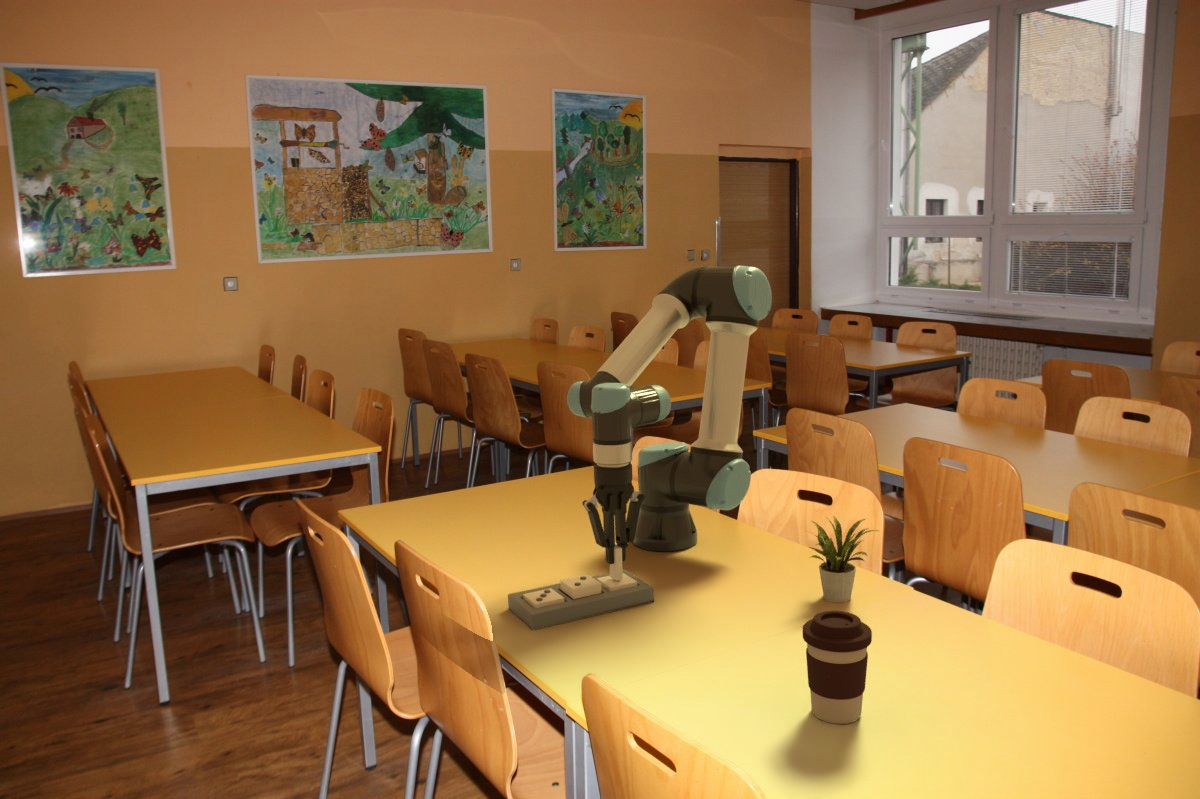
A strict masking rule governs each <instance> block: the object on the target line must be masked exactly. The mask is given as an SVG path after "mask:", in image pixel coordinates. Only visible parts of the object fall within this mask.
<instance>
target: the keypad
mask: <svg viewBox="0 0 1200 799" xmlns="http://www.w3.org/2000/svg"><path fill="white" fill-rule="evenodd" d="M623 573H624V574H626V575H627V576H629V577H631V578H632V579H634V580H635V581H637V586H634V587H629V588H625V589H620V590H616V591H611V592H609V591H607V590H606V589H604V588H603V587H601V593H600V594H595V595H591V596H586V597H582V598H577V599H573V598H571V597H570V596H569V595H567V594H566V593H565V592H563V591H562V590H561V587H560V582H559V583H556V584H550V585H547V586H545V585H544V586H540V587H537V588H532V589H526V590H522V591H517V592H512V593H508V594H507V602H508V604H507V606H508V608H507V609H508V610H509V611H510V612H511V613H512V614H514V615H515V616H516V617H517V618H518V619H519V620H521V621H522V622H523V623H524V624H525V625H526V626H527V627H528V628H530V630H531V631H535V630H539V629H543V628H548V627H552V626H556V625H561V624H565V623H569V622H573V621H577V620H582V619H586V618H590V617H595V616H599V615H604V614H607V613H608V614H609V613H612V612H616V611H620V610H621V611H622V610H625V609H629V608H634V607H637V606H641V605H646V604H651V603H654V602H655V593H654V592H655V588H654V587H655V586H654V587H653V586H652V585H651V584H649V583H648V582H646V581H644V580H642V579H641V578H639V577H637V576H636V575H635V574H633V573H631V572H629V571H627V570H626V569H623ZM605 576H610V572H607V573H603V574H597V575H592V576H591V577H592V578H594V579H595V580H597V578H600V577H605ZM550 588H552V589H553V590H554V591H556V592H557V593H558V594H560V595H561V596H562V597H564V602H562V603H557V604H553V605H548V606H544V607H539V608H535V609H534V608H533V607H531V606H530V605H529V604H528V603H526V602H525V601H524V600H523V594H526V593H531V592H535V591H540V590H545V589H550Z"/></svg>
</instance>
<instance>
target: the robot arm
mask: <svg viewBox="0 0 1200 799" xmlns="http://www.w3.org/2000/svg"><path fill="white" fill-rule="evenodd" d="M772 297H773V296H772V288H771V284H770V282H769V280H768V278H767V275H766V274H765V273H764V271H762V270H761V269H760V268H758V267H756V266H748V265H740V264H739V265H717V266H716V265H714V266H710V265H702V266H701V265H699V266H696V267H693V268H690V269H688V270H686V271H685V272H681V274H679V275H677V276H676V277H674V278H673V279H672V280H671V281H669V282H668V283H667V284H666V285H665V286H664V287H662V289H661V290H660V291H658V293H657V294H656V295H655V297H653V299H652V302H651V307H650V309H649V311H647V313H646V314H645V315H644V316H643V317H642V318H641V319H640V320H639V322H638V323H637V325H635V327H634V328H633V329H632V330H631V331H630V333H629V334H628V335H627V336H626V337H625V338H624V339H623V340H622V342H621V343H620V344H619V346H617V347H616V349H614V351H613V353H612V354H610V356H609V357H608V358H607V359H606V360H605V362H604V363H603V364H602V365H601V366H600V367H599V368H598V370H597V371H596V372H595V374H593V376H592V377H591V378H590V379H588V381H587V380H582V381H581V380H580V381H575V382H574V383H572V384H571V386H570V387H569V389H568V392H567V394H566V395H567V396H566V403H567V407H568V408H569V409H568V410H569V411H570V412H571V413H572V414H573V415H575V416H578V417H582V418H586V419H591V422H592V424H591V425H592V426H591V427H592V456H593V462H594V463H595V464H594V465H593V481H594V482H593V483H594V489H593V492H592V496H591V497H590V498H589V499H588V500H586V499H585V500H582V506H583V507H584V509H585V510H586V511H587V514H588V518H589V519H588V520H589V521H590V522H589V523H590V525H591V530H592V533H593V537H594V541H595V543H596V544H597V545H598V546H600V547H601V548H604V549H605V551H604V553H605V563H607V564H608V565H609V573H610V577H611V578H613V579H614V580H616V581H617V580H622V579H623V570H624V569H623V563H624V562H626V558H627V557H626V556H627V555H626V552H627V550H626V549H627V548H628V547H629V543H633V545H634V546H636V547H638V548H640V549H642V550H647V551H653V552H672V551H673V552H675V551H681V550H685V549H689V548H691V547H693V546H694V545H696V544H697V543H698V531H697V530H698V529H697V528H696V525H695V522H694V519H693V516H692V514H691V510H690V505H691V506H692V505H693V506H698V507H702V508H703V507H704V508H708V509H709V510H719V511H720V510H721V511H731V510H733V509H735V508H737V507H738V506H739V505H740V504H741V503H742V501H743V500H744V499H745V497H746V496H747V494H748V492H749V488H750V485H751V478H752V472H751V470H750V468H751V467H750V465H749V463H748V462H747V461H745V460H744V459H743V455H744V454H743V452H744V451H743V449H742V448H741V447H740V446H739V444H738V439H739V438H738V437H739V429H740V420H741V411H742V405H743V404H742V403H743V394H744V387H745V386H744V385H745V380H746V379H745V378H746V370H747V363H748V362H747V361H748V353H749V345H750V344H749V343H750V337H751V335H752V334H753V333H755V332H756V331H757V330H758V328H759V321H761V320H764V319H765V318H766V317H767V316H768V315H769V313H770V311H771V308H772V303H773V302H772V301H773V300H772ZM697 318H698V319H699V318H705V325H706V327H707V329H709V331H710V338H709V348H708V355H707V364H706V373H705V380H704V387H703V388H704V389H703V398H702V405H701V406H702V408H701V413H700V414H701V415H700V424H699V431H698V432H699V433H698V438H697V439H696V440H695V441H694V442H693V443H691V444H690V448H689V447H688V444H687V443H685V442H681V441H680V442H677V441H676V442H675V441H674V442H663V443H659V444H651V445H649V446H645V447H644V448H642V449H640V451H639V452H638V453H637V455H638V457H637V465H636V467H637V477H638V478H637V481H638V484H637V485H638V491H637V490H635V488H634V485H633V465H632V464H633V463H631V462H632V460H633V453H632V429H634V428H638V427H643V426H646V425H651V424H655V423H657V422H659V421H662V420H664V419H665V418H666V417H668V415H669V414H670V412H671V409H672V398H671V396H670V394H669V392H668V390H667V389H665V387H663V386H661V385H658V384H652V385H651V384H647V385H643V386H633V384H634V382H636V380H637V379H638V378H639V376H640V375H641V374H642V373H643V372H644V370H645V369H646V368H647V367H648V365H649V364H650V363H651V362H652V361H653V359H654V358H656V356H657V355H658V354H659V352H660V351H661V349H662V348H663V347H664V346H665V345H666V343H668V341H669V340H670V339H671V338H672V336H673V335H674V334H675V332H677V330H678V329H683V328H685V327H686V326H688V324H689V323H690V322H691V321H692V320H694V319H697ZM628 503H629V504H628ZM598 504H599V505H600V507H601V513H602V516H603V517H602V519H603V521H601V520H602V519H601V516H600V513H599V511H598ZM627 505H628V506H627ZM627 507H628V508H627ZM626 514H627V515H626ZM602 522H603V524H602Z"/></svg>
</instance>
